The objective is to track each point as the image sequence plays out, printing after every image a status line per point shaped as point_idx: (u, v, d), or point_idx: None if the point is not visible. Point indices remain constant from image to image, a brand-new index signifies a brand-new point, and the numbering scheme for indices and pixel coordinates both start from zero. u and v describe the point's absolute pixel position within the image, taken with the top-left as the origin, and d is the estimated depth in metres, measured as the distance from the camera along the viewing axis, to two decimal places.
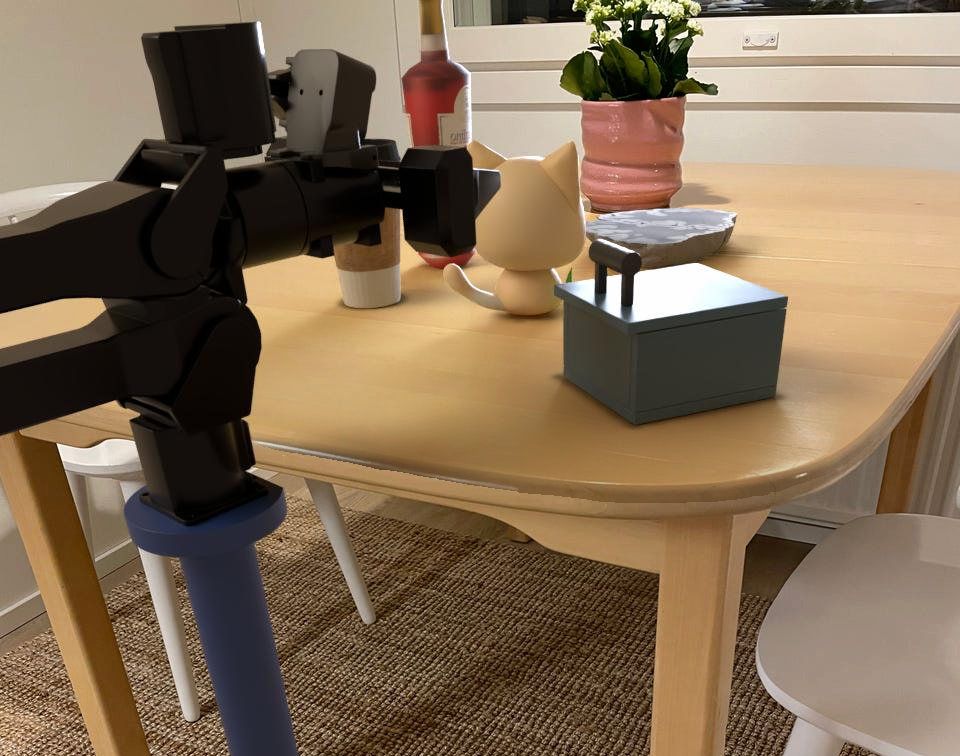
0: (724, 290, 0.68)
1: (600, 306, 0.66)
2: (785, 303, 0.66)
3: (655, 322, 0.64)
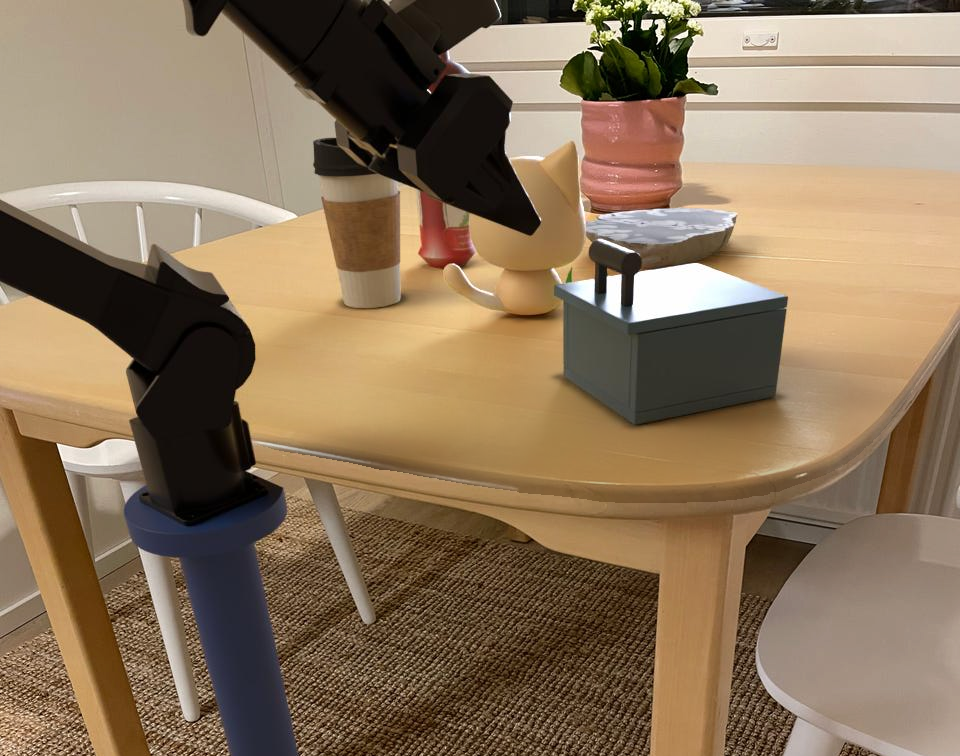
0: (724, 290, 0.68)
1: (600, 306, 0.66)
2: (785, 303, 0.66)
3: (655, 322, 0.64)
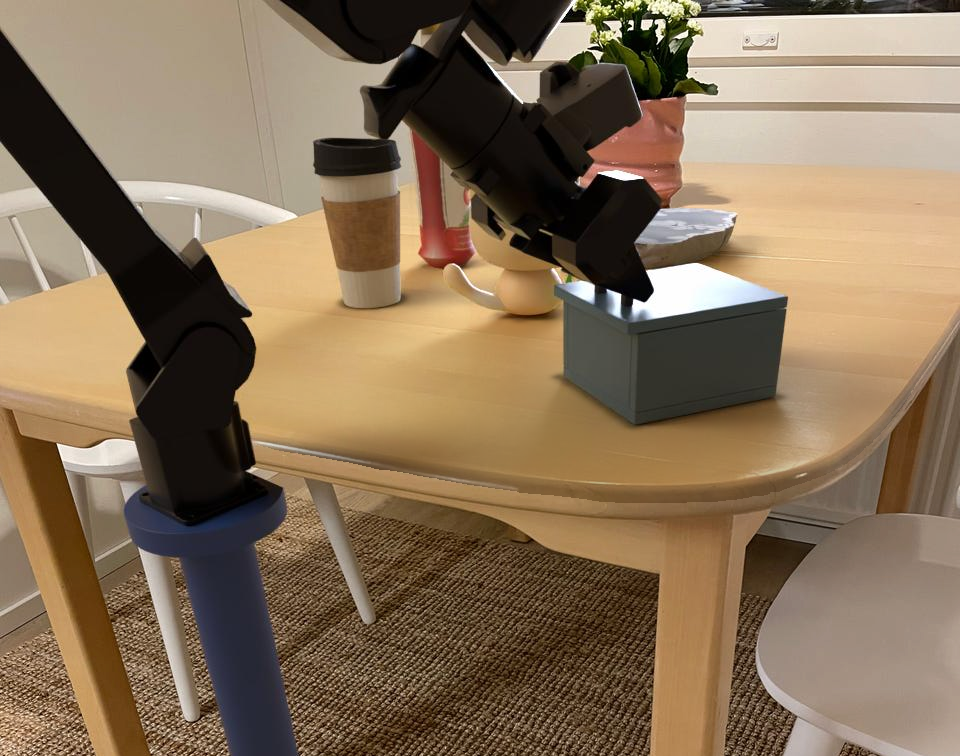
0: (724, 290, 0.68)
1: (600, 306, 0.66)
2: (785, 303, 0.66)
3: (655, 322, 0.64)
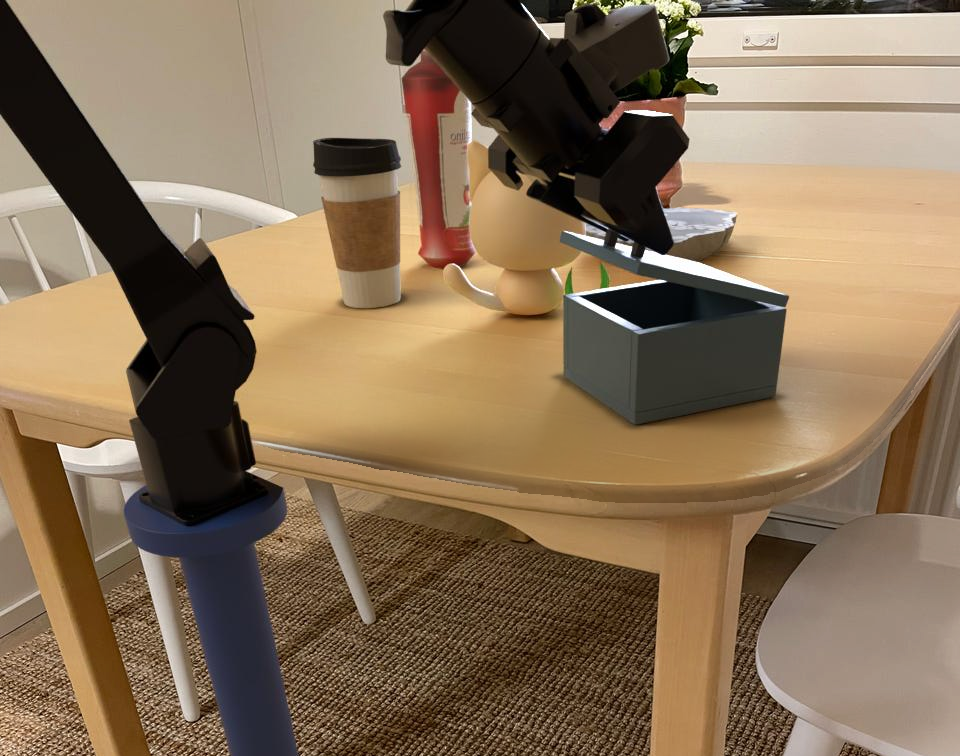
0: (728, 277, 0.68)
1: (610, 249, 0.65)
2: (785, 302, 0.66)
3: (665, 271, 0.62)
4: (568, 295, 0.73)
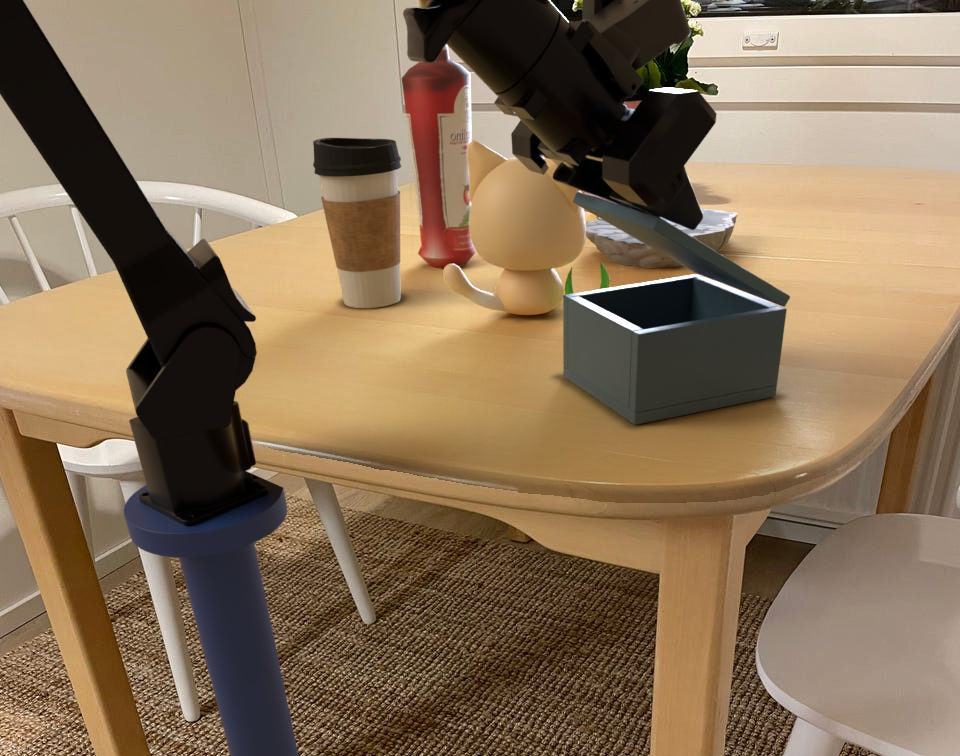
0: None
1: (627, 207, 0.63)
2: (785, 301, 0.66)
3: (680, 234, 0.61)
4: (568, 295, 0.73)
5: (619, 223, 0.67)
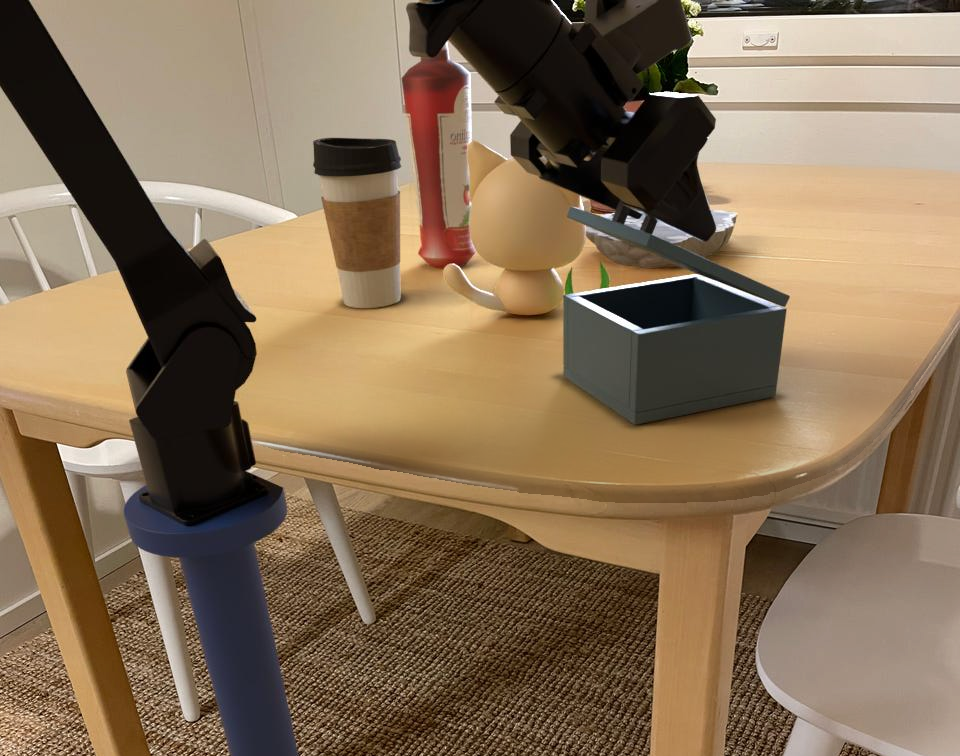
0: None
1: (620, 223, 0.64)
2: (785, 302, 0.66)
3: (674, 248, 0.61)
4: (568, 295, 0.73)
5: None
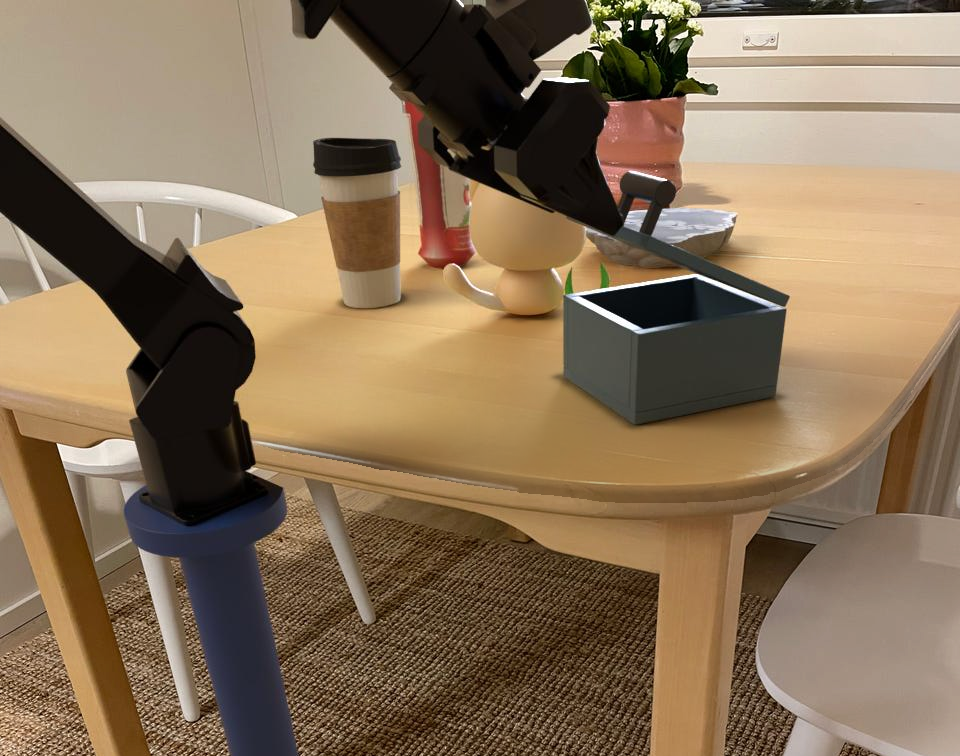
0: None
1: None
2: (785, 302, 0.66)
3: (673, 250, 0.61)
4: (568, 295, 0.73)
5: (613, 237, 0.68)
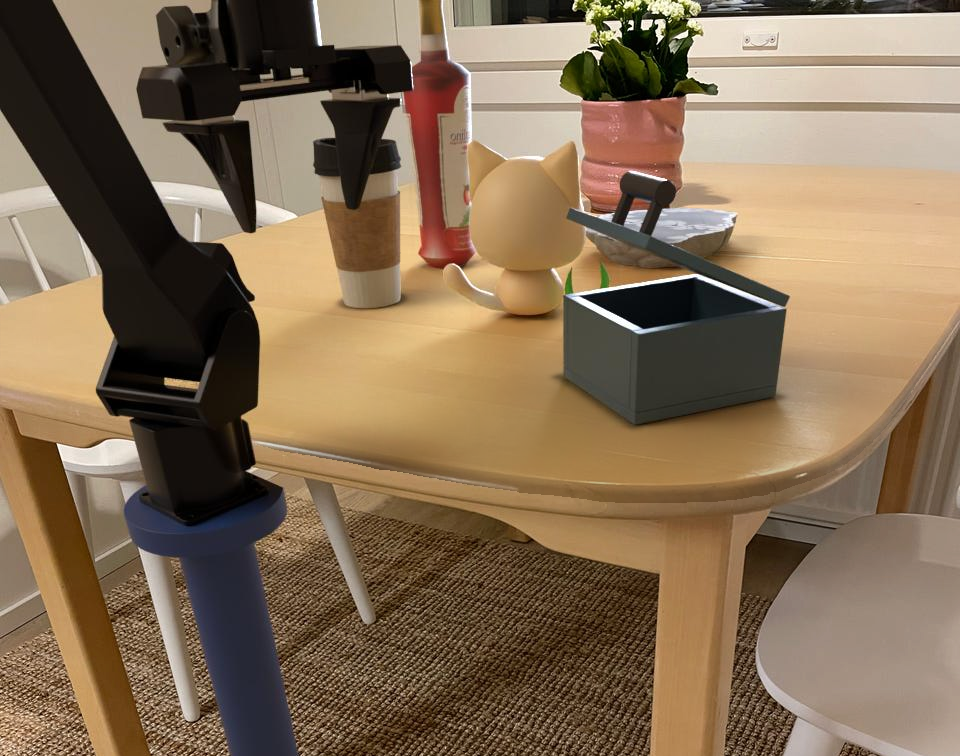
0: None
1: (619, 225, 0.64)
2: (785, 302, 0.66)
3: (673, 250, 0.61)
4: (568, 295, 0.73)
5: (613, 237, 0.68)
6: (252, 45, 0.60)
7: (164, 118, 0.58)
